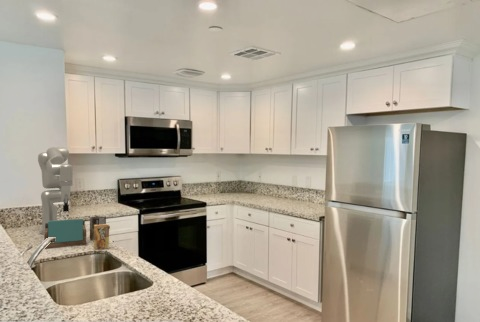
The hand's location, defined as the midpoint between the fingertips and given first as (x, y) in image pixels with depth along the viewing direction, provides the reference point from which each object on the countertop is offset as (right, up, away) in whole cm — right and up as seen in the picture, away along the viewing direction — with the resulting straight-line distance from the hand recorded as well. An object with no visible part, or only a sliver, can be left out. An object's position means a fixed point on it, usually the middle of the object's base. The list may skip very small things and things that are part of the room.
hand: (65, 211), depth 223 cm
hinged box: (-1, -22, +2) cm, 22 cm away
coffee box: (+16, -22, +13) cm, 30 cm away
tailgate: (+3, -19, -5) cm, 20 cm away
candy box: (+26, -23, -7) cm, 36 cm away
